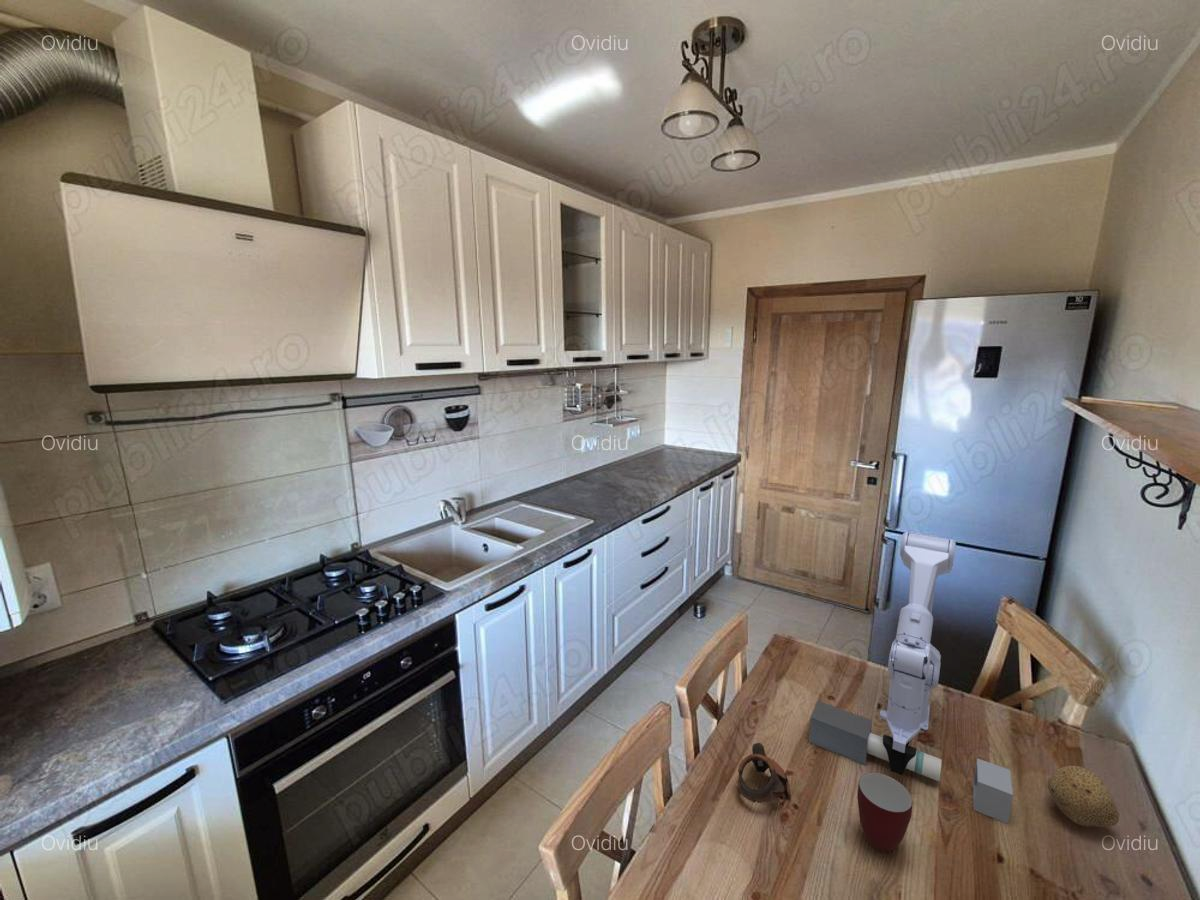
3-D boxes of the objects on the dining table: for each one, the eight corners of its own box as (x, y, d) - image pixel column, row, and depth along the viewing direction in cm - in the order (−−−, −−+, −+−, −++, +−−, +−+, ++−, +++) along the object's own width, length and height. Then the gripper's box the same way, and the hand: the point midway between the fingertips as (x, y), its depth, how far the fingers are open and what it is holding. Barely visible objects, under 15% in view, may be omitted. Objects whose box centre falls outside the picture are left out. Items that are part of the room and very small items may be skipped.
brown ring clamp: (801, 814, 92) (787, 790, 89) (753, 827, 94) (737, 804, 91) (781, 751, 103) (767, 727, 100) (738, 764, 105) (723, 741, 102)
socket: (973, 809, 92) (977, 781, 91) (973, 785, 98) (976, 758, 96) (1008, 824, 89) (1013, 795, 88) (1005, 798, 95) (1010, 770, 94)
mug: (842, 805, 93) (846, 759, 92) (888, 810, 92) (893, 763, 91) (863, 860, 83) (869, 809, 81) (915, 867, 82) (922, 815, 80)
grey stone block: (808, 742, 109) (810, 717, 108) (815, 724, 114) (817, 700, 113) (865, 765, 103) (867, 739, 102) (869, 745, 108) (872, 720, 107)
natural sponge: (1032, 792, 96) (1040, 747, 94) (1088, 803, 94) (1097, 756, 92) (1061, 835, 87) (1070, 786, 85) (1124, 848, 85) (1135, 798, 83)
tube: (812, 736, 109) (814, 719, 109) (817, 724, 113) (818, 708, 112) (938, 786, 96) (941, 768, 96) (939, 772, 100) (941, 754, 99)
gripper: (886, 674, 107) (880, 730, 110) (877, 713, 96) (871, 774, 98) (925, 686, 103) (918, 744, 106) (920, 728, 92) (913, 791, 94)
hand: (898, 759), depth 102 cm, fingers open, 7 cm apart
